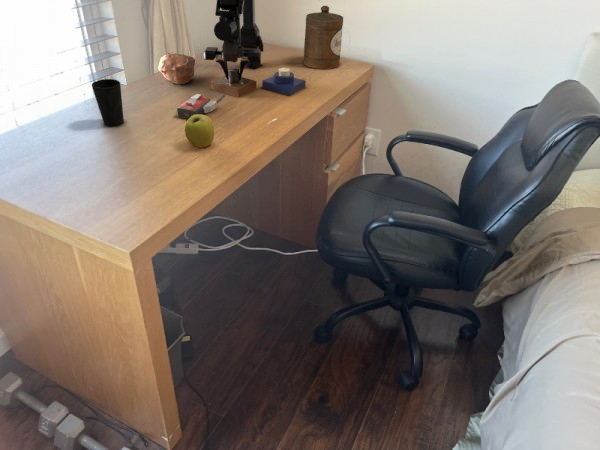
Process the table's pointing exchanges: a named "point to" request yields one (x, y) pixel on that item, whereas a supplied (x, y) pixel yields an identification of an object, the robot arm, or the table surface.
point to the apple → (199, 130)
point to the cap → (284, 72)
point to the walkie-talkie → (197, 106)
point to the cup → (109, 101)
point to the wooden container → (323, 39)
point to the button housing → (284, 84)
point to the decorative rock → (177, 67)
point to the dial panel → (234, 86)
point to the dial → (233, 75)
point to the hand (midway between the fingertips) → (233, 79)
